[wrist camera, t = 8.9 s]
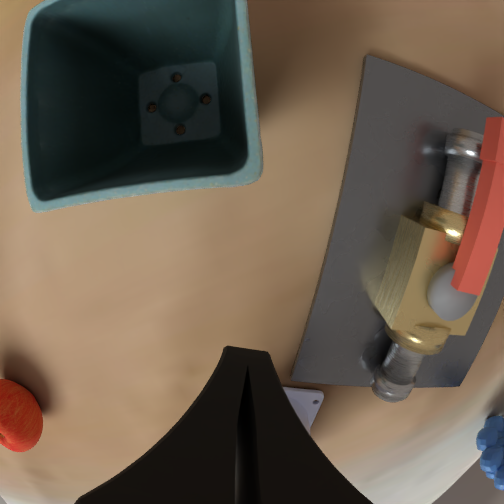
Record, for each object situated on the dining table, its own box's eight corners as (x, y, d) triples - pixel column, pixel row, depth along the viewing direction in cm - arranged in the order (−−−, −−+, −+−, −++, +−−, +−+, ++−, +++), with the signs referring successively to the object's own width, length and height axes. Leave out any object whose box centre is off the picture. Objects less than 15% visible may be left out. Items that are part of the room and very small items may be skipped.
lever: (457, 315, 16) (472, 331, 14) (418, 309, 16) (433, 325, 14) (511, 136, 13) (532, 138, 11) (474, 114, 13) (495, 112, 11)
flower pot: (250, 27, 15) (242, -58, 7) (263, 168, 18) (265, 184, 9) (111, 53, 16) (25, 9, 7) (120, 185, 18) (28, 215, 10)
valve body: (456, 382, 23) (477, 413, 18) (290, 375, 22) (294, 418, 18) (536, 140, 16) (574, 144, 12) (363, 56, 15) (390, 34, 11)
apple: (-8, 355, 24) (-49, 397, 16) (48, 387, 24) (9, 440, 17) (5, 402, 26) (-26, 443, 19) (57, 431, 27) (29, 480, 19)
